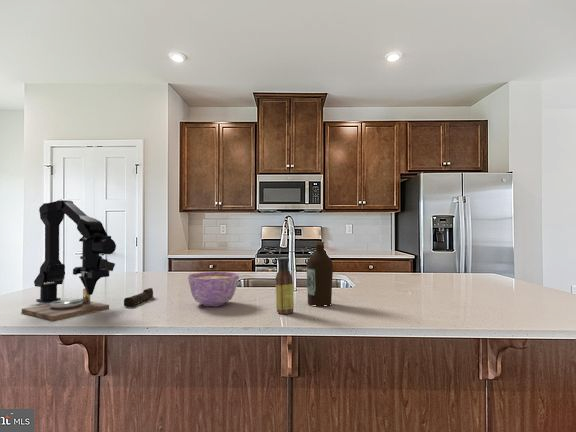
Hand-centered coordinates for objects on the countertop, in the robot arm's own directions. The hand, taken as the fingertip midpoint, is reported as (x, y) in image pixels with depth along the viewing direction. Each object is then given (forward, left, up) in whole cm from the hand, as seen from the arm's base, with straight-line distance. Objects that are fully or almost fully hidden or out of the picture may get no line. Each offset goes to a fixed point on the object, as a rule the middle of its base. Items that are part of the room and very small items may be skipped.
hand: (90, 294), depth 138 cm
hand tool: (+8, +16, -5) cm, 19 cm away
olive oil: (+72, +50, -5) cm, 88 cm away
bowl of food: (+36, +28, -5) cm, 46 cm away
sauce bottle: (+67, +31, -5) cm, 74 cm away
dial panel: (-2, -8, -5) cm, 9 cm away
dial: (-2, -6, -3) cm, 7 cm away
